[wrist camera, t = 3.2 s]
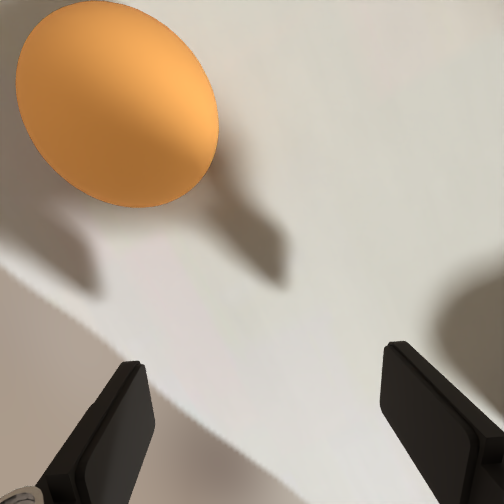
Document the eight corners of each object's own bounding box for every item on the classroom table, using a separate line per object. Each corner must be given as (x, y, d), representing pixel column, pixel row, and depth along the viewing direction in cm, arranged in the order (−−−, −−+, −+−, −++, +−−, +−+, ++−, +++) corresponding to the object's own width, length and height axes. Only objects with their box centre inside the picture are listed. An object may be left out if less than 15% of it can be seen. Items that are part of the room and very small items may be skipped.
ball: (79, 64, 11) (-103, -68, 5) (218, 57, 11) (191, -80, 5) (107, 205, 13) (-10, 223, 7) (229, 198, 13) (217, 210, 7)
